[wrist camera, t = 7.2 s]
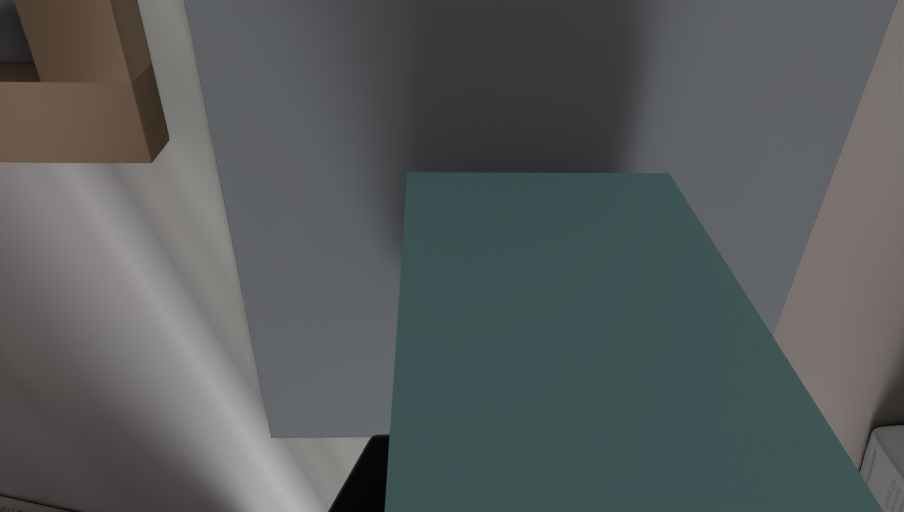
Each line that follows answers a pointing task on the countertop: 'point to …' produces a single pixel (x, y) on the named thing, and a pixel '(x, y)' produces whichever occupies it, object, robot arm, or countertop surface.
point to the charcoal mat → (500, 146)
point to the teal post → (591, 360)
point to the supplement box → (885, 467)
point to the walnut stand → (81, 87)
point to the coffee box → (23, 506)
